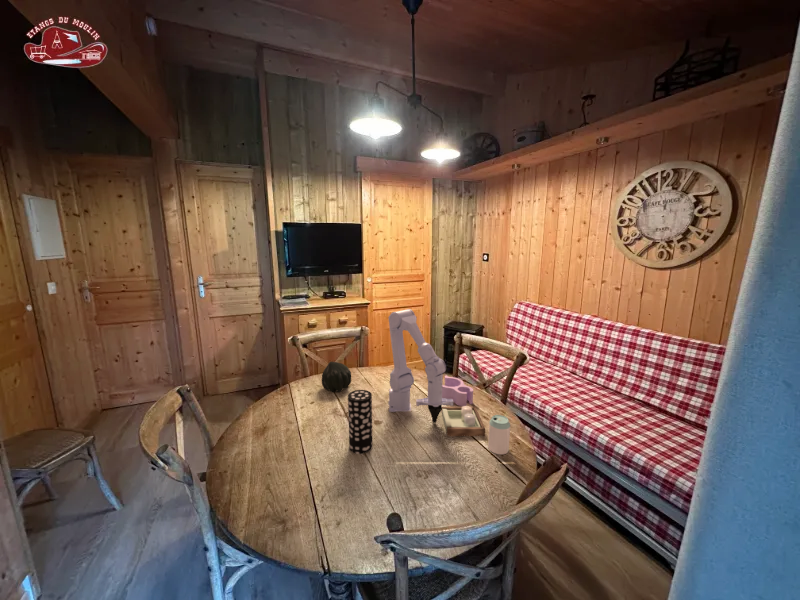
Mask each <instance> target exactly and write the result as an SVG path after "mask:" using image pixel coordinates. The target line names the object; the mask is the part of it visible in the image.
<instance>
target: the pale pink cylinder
mask: <svg viewBox="0 0 800 600" xmlns="http://www.w3.org/2000/svg"><path fill="white" fill-rule="evenodd" d="M461 407H462V411H461V420H462V421H463V422H464V415H465V414H468V413H470V414H472V408H471V407H472V406H469V405H466V406H461Z"/></svg>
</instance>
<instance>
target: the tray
mask: <svg viewBox="0 0 800 600" xmlns="http://www.w3.org/2000/svg"><path fill="white" fill-rule="evenodd" d="M461 411H462V410H447V409H442V410H441V417H442V420H443V425H444V428H445V433H446V434H447V427H480V425H479V422H478V420H477V418H476V415H475V413H474V411H473V410H472V414H473V415H475V426H464V422H463V421H462V420H461Z"/></svg>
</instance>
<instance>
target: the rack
mask: <svg viewBox="0 0 800 600" xmlns="http://www.w3.org/2000/svg"><path fill="white" fill-rule="evenodd" d="M462 407H463V406H442V409H447V410H462ZM470 407H471V408H472V410H473V411H474V413H475V415H476V418H477V420H478V422H479V425H480V427H447V433H446V435H447V437H486V426H485V425H484V423H483V420H482V418H481V417H480V414H479V412H478V409H477V407H476V406H470Z"/></svg>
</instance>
